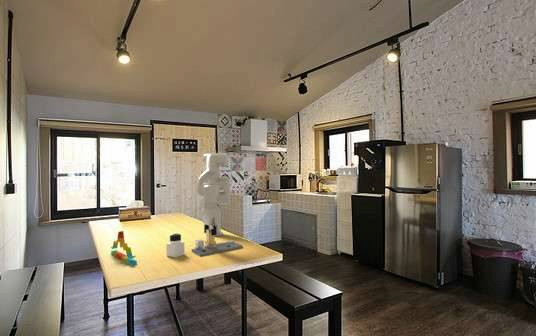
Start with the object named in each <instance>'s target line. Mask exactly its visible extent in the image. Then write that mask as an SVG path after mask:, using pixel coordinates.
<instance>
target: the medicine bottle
mask: <svg viewBox="0 0 536 336" xmlns="http://www.w3.org/2000/svg"><path fill="white" fill-rule="evenodd" d="M185 253H186V252H185V242H183V241H182V235H181V233H172V234H170V235H169V242H167V243H166V257H171V258H178V257H181V256H184V255H185Z"/></svg>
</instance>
